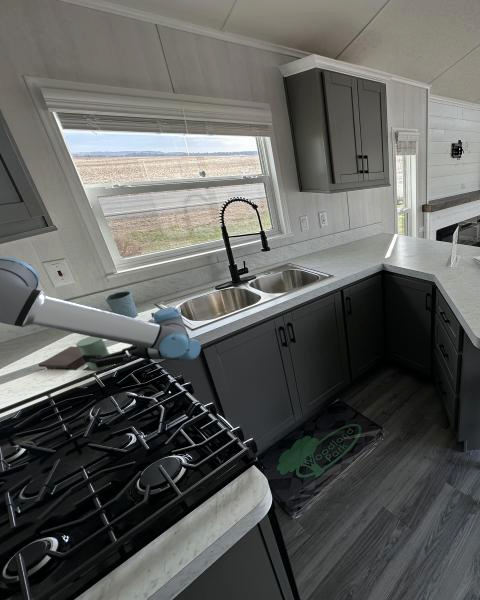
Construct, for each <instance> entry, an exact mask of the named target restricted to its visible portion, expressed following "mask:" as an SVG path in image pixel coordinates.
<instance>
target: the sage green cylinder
mask: <svg viewBox="0 0 480 600" xmlns="http://www.w3.org/2000/svg"><path fill="white" fill-rule="evenodd" d="M75 345H76V347H78V349H79V351H80V353H81V355H82V356H83V355H101V356H105V355H108V354H111V353H110V351H109V350H108V348H107V346H106V344H105V341H104V339H101V338H96V337H91V336H87V337H84V338H82V339H80V340H78V341H77V342H76V344H75ZM85 365H86V366H87V367H89V369H90V371H89V372H102V371H101V370H103V369H105V368H107V367H110V366H112V365H109V366H104V367H100V368H97V367H96V365H95V363H91V362H86V364H85Z"/></svg>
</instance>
